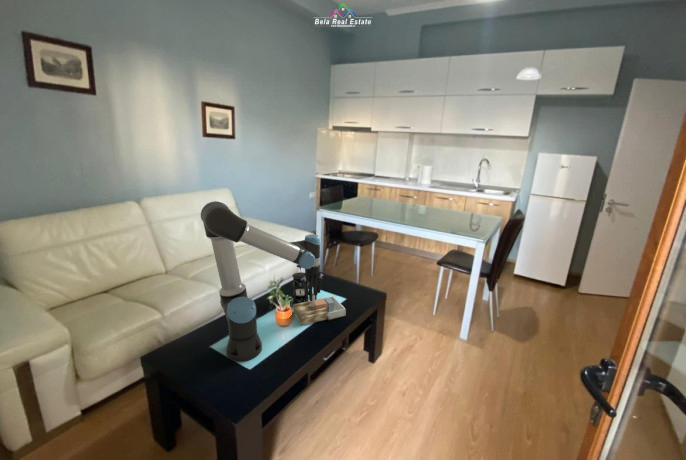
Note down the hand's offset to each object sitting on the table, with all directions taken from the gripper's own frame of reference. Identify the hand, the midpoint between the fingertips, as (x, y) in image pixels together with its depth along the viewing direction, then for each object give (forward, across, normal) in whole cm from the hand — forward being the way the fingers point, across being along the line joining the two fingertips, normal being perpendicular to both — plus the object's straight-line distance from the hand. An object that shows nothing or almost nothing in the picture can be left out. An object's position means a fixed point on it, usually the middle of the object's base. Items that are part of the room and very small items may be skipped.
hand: (312, 305), depth 170 cm
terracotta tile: (+2, +4, 0) cm, 4 cm away
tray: (+6, +11, 0) cm, 12 cm away
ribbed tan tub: (+6, -2, 0) cm, 6 cm away
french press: (+6, -2, +16) cm, 17 cm away
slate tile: (+2, +8, 0) cm, 8 cm away
